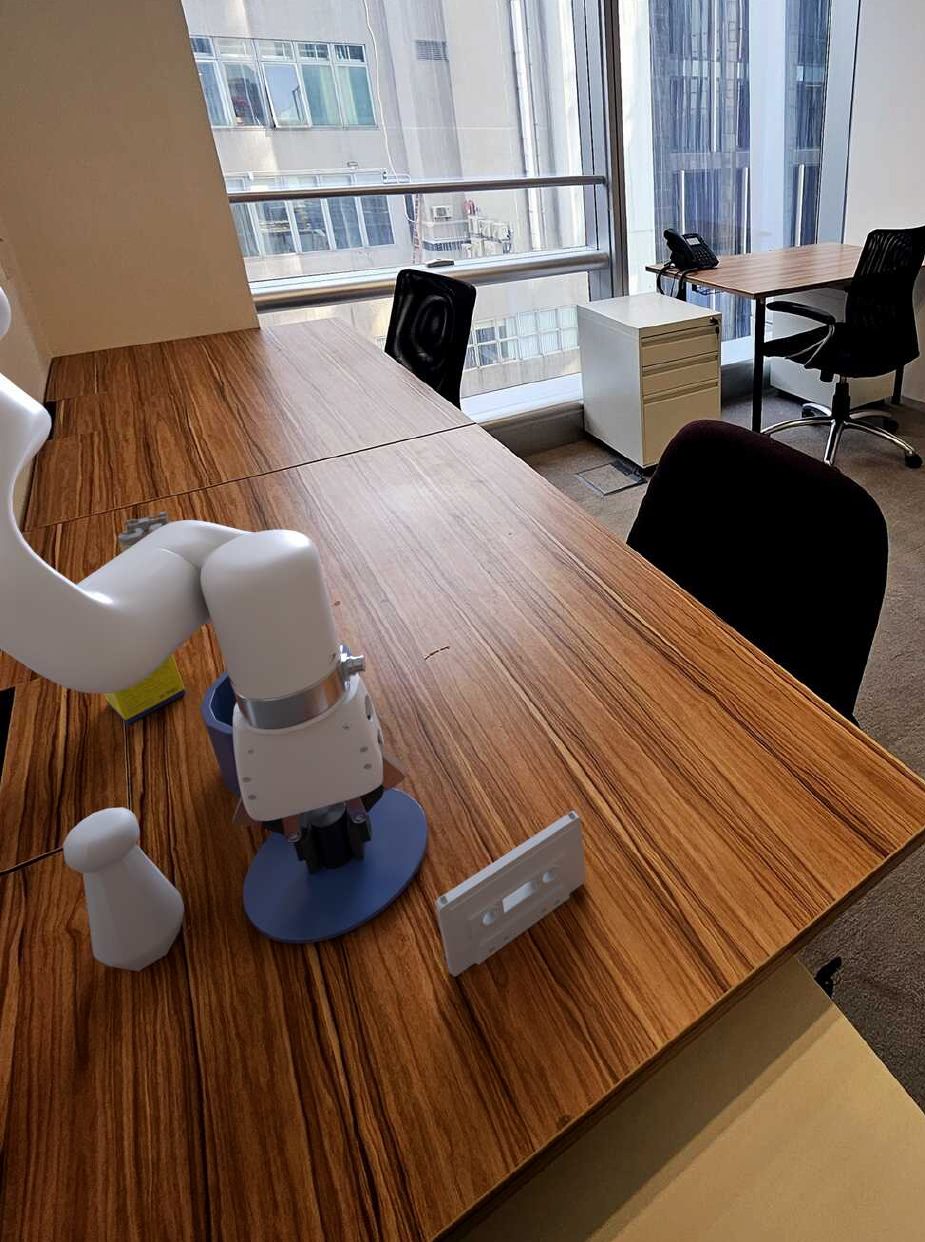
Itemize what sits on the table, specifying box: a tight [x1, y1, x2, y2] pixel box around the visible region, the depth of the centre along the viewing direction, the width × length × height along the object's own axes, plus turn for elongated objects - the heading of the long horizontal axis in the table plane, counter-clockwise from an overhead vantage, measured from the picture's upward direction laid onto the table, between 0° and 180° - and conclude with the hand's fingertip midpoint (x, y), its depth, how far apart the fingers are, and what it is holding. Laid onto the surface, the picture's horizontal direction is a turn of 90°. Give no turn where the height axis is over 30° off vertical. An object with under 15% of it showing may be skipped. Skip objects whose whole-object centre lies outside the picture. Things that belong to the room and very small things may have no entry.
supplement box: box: [103, 653, 187, 726], centre depth 81 cm, size 6×6×11 cm
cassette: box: [434, 810, 587, 977], centre depth 58 cm, size 12×2×8 cm, turn 131°
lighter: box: [117, 511, 173, 553], centre depth 104 cm, size 7×4×10 cm, turn 122°
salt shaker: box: [62, 806, 185, 972], centre depth 56 cm, size 6×6×13 cm
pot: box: [199, 642, 361, 798], centre depth 75 cm, size 14×14×8 cm
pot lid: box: [242, 787, 429, 945], centre depth 63 cm, size 15×15×6 cm
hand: (338, 851), depth 64 cm, fingers closed on pot lid, 3 cm apart
